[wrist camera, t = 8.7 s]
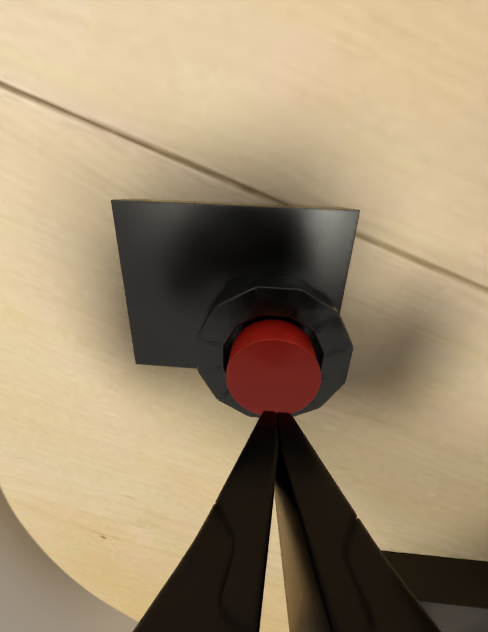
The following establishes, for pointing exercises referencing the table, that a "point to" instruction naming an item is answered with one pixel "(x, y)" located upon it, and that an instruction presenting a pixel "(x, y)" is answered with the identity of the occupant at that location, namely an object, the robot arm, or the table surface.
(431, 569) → the panel
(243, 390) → the button
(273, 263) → the control block
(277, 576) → the table surface
